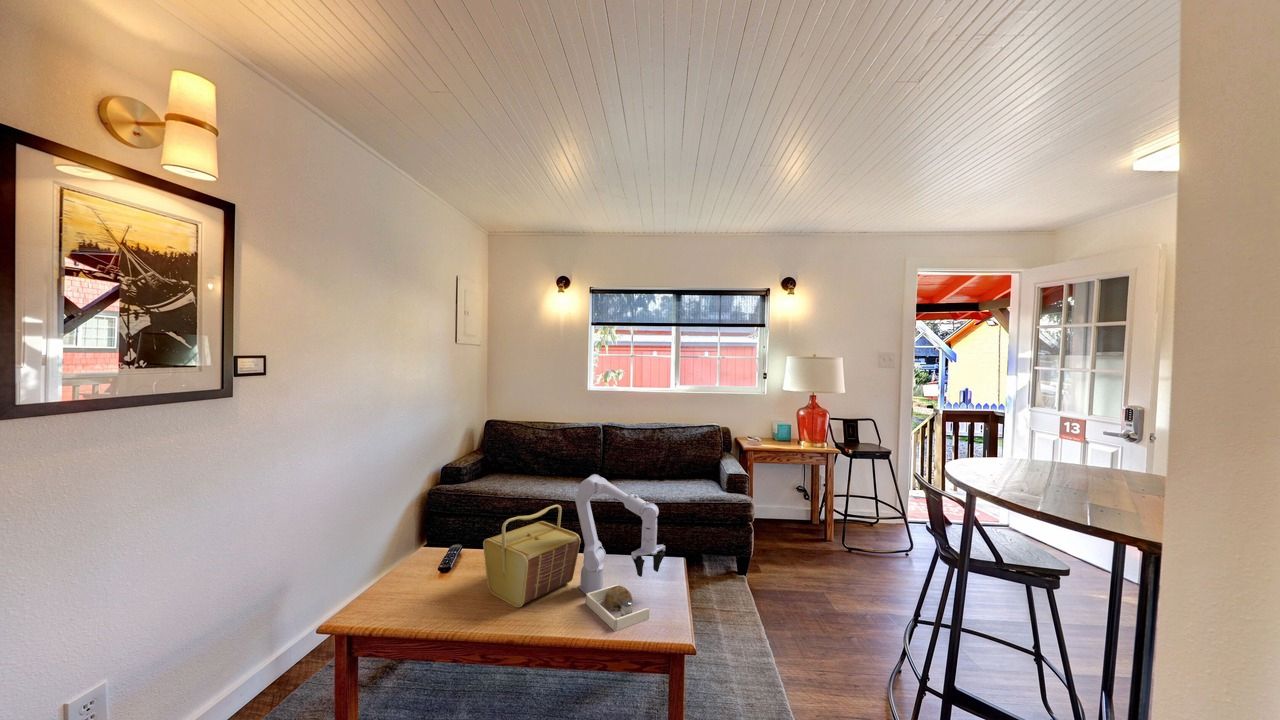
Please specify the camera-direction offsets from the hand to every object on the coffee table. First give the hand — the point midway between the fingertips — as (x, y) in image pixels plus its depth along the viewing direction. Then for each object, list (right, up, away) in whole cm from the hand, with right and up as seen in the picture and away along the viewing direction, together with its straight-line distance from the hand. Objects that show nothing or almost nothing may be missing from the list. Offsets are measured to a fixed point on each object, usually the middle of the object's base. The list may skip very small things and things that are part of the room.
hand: (647, 573), depth 171 cm
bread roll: (-11, -10, -3) cm, 15 cm away
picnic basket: (-45, -9, +5) cm, 46 cm away
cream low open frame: (-11, -9, -9) cm, 17 cm away
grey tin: (-8, -10, -14) cm, 18 cm away
